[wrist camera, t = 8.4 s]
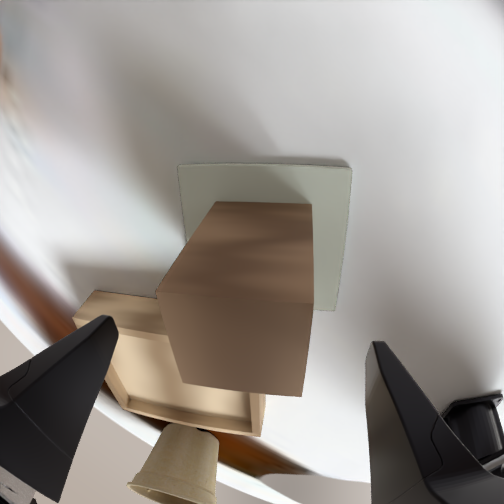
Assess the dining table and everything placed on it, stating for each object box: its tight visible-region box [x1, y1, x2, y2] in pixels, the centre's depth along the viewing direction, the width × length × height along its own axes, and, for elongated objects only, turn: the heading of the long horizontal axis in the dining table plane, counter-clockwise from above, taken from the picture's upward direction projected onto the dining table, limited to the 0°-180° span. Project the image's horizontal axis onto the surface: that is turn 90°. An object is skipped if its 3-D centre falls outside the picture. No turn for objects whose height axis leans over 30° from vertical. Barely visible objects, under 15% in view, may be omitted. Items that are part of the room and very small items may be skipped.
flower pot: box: [127, 423, 219, 504], centre depth 26 cm, size 9×9×9 cm
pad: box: [177, 163, 352, 311], centre depth 16 cm, size 8×8×1 cm
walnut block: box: [155, 201, 314, 397], centre depth 13 cm, size 4×4×7 cm
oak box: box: [72, 290, 265, 437], centre depth 21 cm, size 12×11×3 cm
